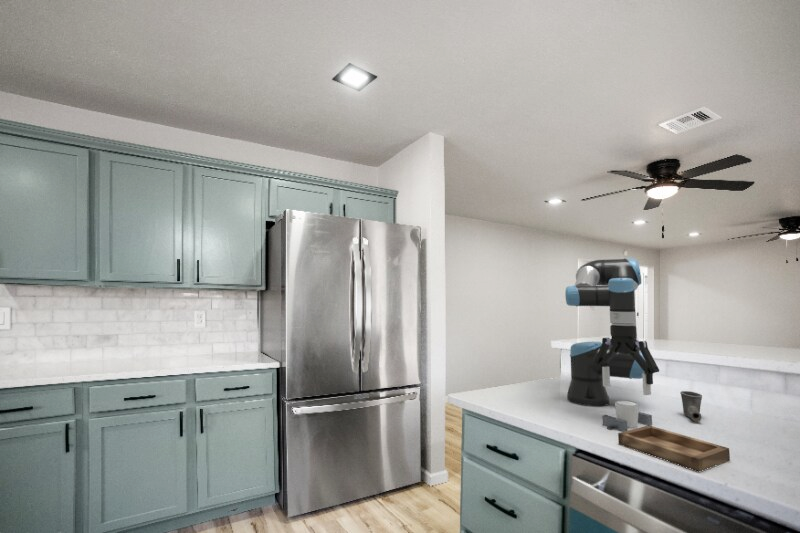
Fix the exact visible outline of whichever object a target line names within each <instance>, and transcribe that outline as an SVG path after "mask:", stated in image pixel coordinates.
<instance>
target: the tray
mask: <svg viewBox="0 0 800 533" xmlns="http://www.w3.org/2000/svg"><path fill="white" fill-rule="evenodd" d="M617 436H618V439H617V440H618V445H621V446H623V445H624V447H626V448H629V447H630V448H629V449H631V448H632V450H634V449H635V450H634V451H637V450H638V452H640V451H641V453H643V452H644V453H643V454H646V453H647V454H646V455H648V454H650V456H651V455H653V456H652V457H654V456H656V457H655V458H657V457H659V458H658V459H660V458H662V459H661V460H663V459H665V460H664V461H666V460H668V461H670V462H669V463H671V462H673V463H672V464H674V463H676V464H675V465H677V464H679V465H678V466H680V465H681V466H680V467H683V466H684V468H686V467H687V468H686V469H688V468H691V469H693V470H692V471H694V470H696V471H695V472H697V471H702V470H704V471H706V470H705V469H707V468H709V469H711V468H710V467H712V468H714V467H716V466H715V465H717V466H719V465H718V464H720V465H722V464H724V462H725V463H726V462H729V461H731V457H730V455H731V454H730V448H729V447H726V446H722V445H720V444H716V443H713V442H709V441H705V440H701V439H698V438H695V437H691V436H688V435H684V434H681V433H677V432H674V431H670V430H667V429H664V428H659V427H656V426H653V425H645V426H640V427H636V428H631V429H629V430H628V431H624V432H622V431H620V432H619V433H617ZM668 461H667V462H668ZM721 463H722V464H721ZM713 466H714V467H713ZM691 469H690V470H691ZM707 470H708V469H707ZM702 472H703V471H702Z"/></svg>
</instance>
